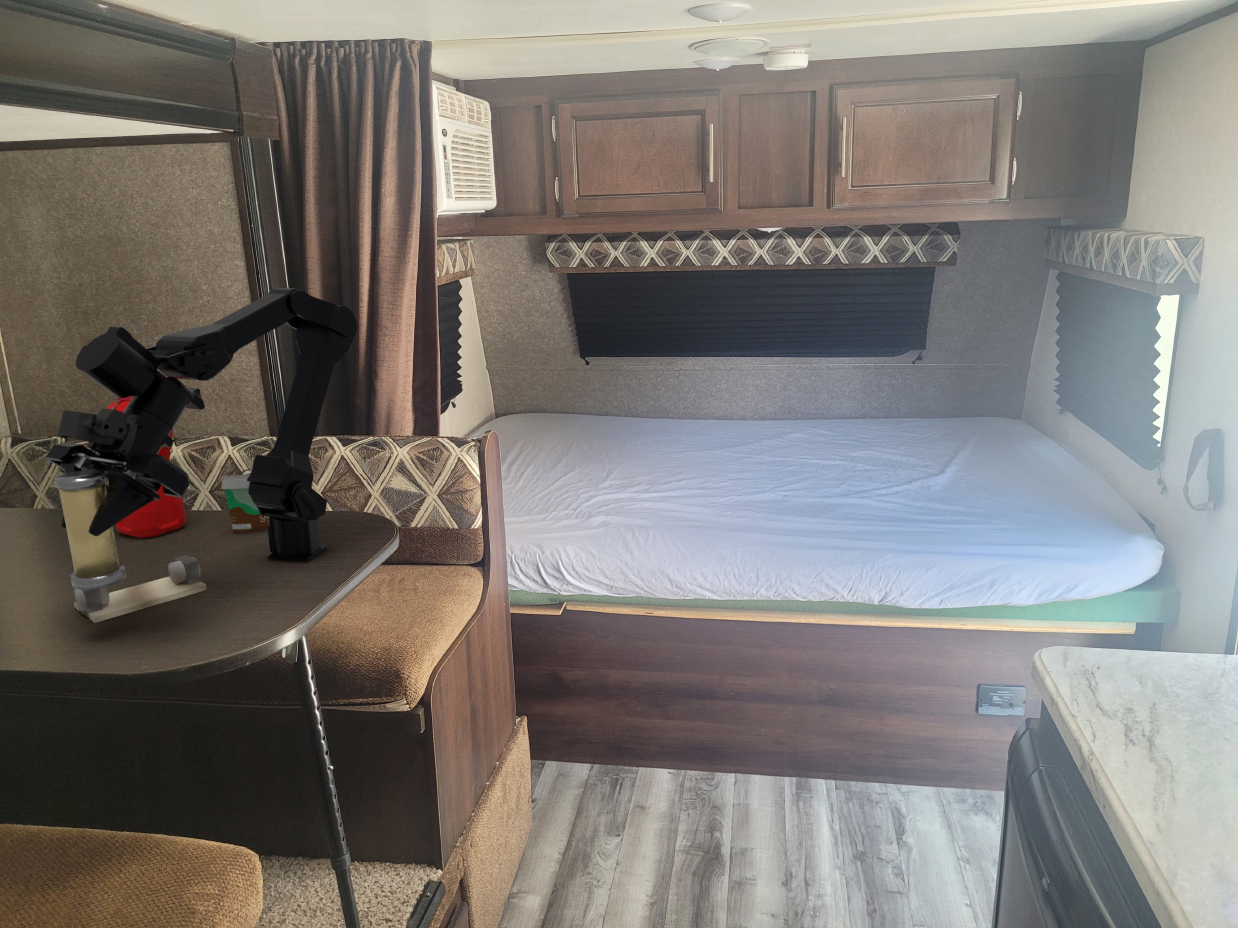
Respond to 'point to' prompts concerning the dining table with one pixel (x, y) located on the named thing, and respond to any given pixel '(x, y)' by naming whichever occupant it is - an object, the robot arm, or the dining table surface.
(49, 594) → the dining table surface
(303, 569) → the dining table surface
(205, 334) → the robot arm
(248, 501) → the food container
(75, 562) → the metal capped yellow cylinder
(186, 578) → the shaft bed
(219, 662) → the dining table surface
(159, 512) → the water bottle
